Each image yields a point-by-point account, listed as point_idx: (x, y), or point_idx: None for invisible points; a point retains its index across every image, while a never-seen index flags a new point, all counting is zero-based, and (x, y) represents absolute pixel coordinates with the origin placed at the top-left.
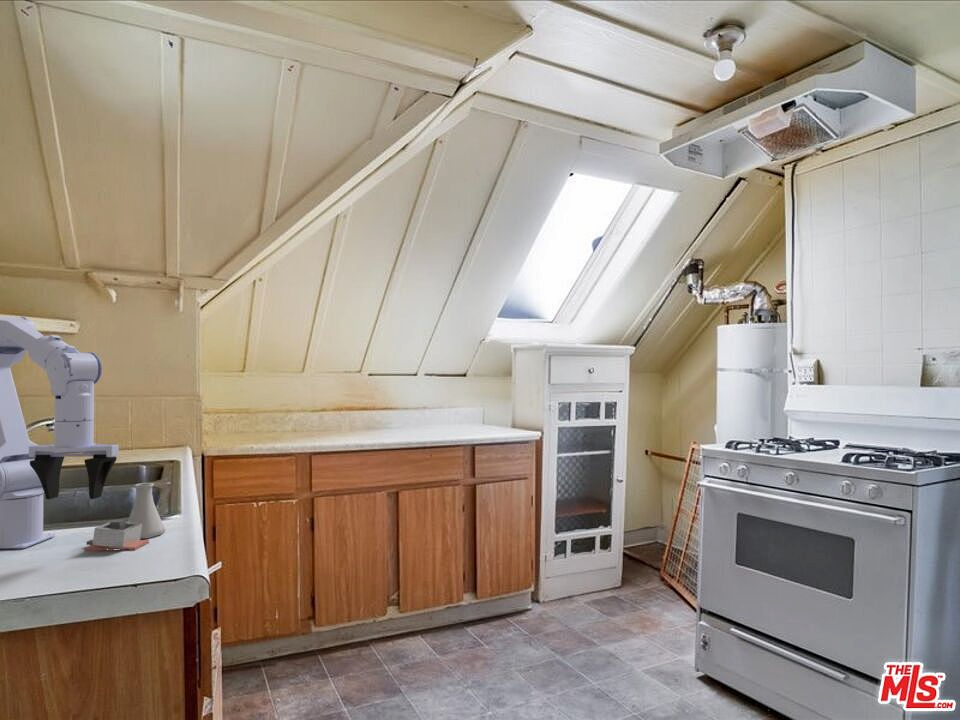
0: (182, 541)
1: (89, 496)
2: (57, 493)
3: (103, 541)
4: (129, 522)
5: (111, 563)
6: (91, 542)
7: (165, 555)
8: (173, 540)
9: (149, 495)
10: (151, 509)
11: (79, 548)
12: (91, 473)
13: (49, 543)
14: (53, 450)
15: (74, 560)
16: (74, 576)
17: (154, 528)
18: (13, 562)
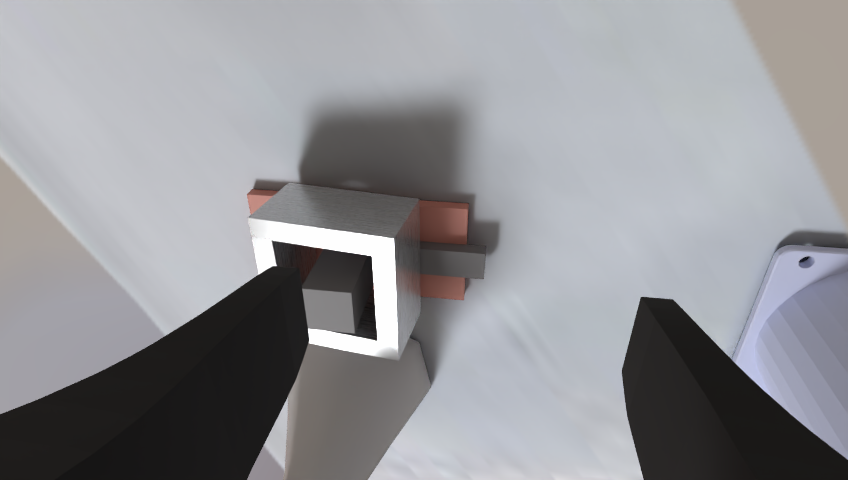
0: (156, 281)
1: (287, 273)
2: (626, 386)
3: (365, 203)
4: (323, 343)
5: (213, 4)
6: (462, 250)
7: (75, 111)
8: (200, 296)
9: None
10: (288, 444)
11: (514, 235)
12: (108, 394)
13: (696, 314)
14: None
15: (421, 60)
16: None
17: None
18: (724, 42)
